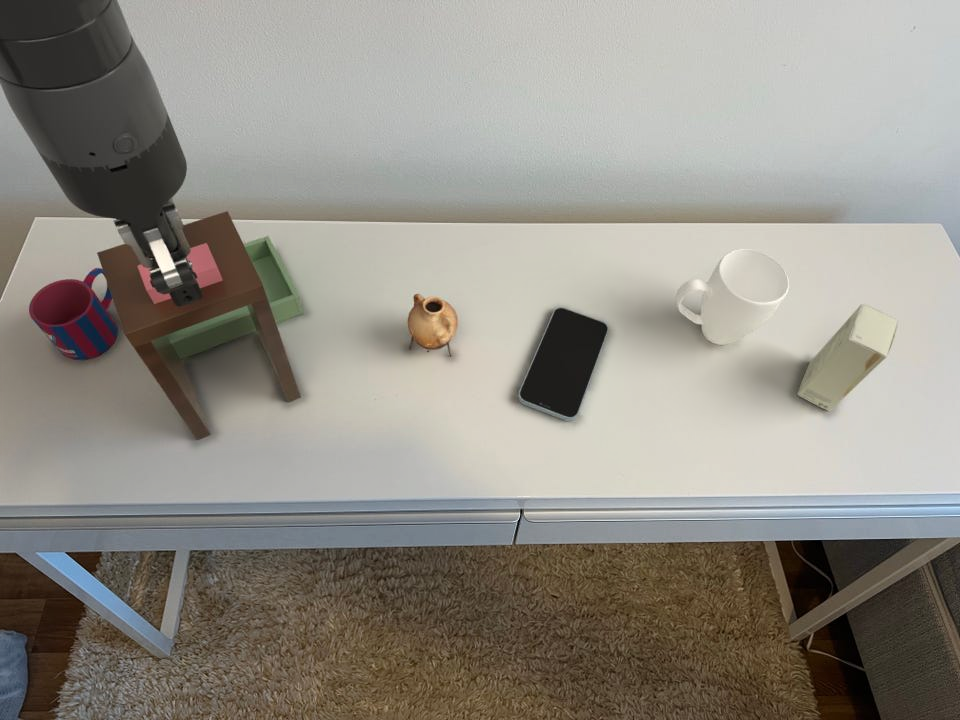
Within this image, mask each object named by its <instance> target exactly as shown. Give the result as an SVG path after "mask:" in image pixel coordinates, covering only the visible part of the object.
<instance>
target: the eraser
mask: <svg viewBox="0 0 960 720" xmlns="http://www.w3.org/2000/svg"><path fill="white" fill-rule="evenodd" d="M190 249H191V252H190V254H189V255H188V256H187V259H188V261H190V260H191V263H192V265H193V267H192V269H193V272H195V273H196V275H197V277H198V278H196V280H197V282H198V284H199V287H200V288H203V287H205V286H208V285H211V284H214V283H217V282H220V281H222V277H221V275H220V272H219V270H218V268H217V265H216V263H215V261H214V259H213V256H212V254H211V252H210V250H209V247H208V245H207V243H204V244H201V245H198V246H195V247H192V248H190ZM137 267H138V270H139V272H140V275H141V278H142V280H143V283H144V286H145V288H146V291H147V293H148V294H149V296H150V298H151V299H152V301H153V303H154V304H157V303H160V302H162V301H165V300H168V299H171V296H170V294H169V293H168V294H165V295H164V294H161V293H159V292H157V291H156V289H155V287H154V288H153V287H152V285H151V283H150V280H151V278H150V275H151V274H150V272H149V269H151V268H145V267H143V266H142V264H141V265H138V266H137Z"/></svg>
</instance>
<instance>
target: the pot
mask: <svg viewBox="0 0 960 720" xmlns="http://www.w3.org/2000/svg"><path fill="white" fill-rule="evenodd" d="M412 298H413V307H412V308H411V309H410V311H409V312H408V316H407V328H408V331H409V333H410V336H411V338H410V342H409V345H408V350H411V349H412V346H413V343H414V341H415V343H416V344H417V345H419V346H420V347H421V348H423V349H427V351H426V352H427V353H430V351H431V350H432V351H435V350H440V349H443V348H444V347H446V346H447V351H448V354H449V357H450V358H451V357H453V354H452V353H453V352H452V350H451V345H450V342H451V340H452V339H453V338H454V336H455V335H456V333H457V330H458V324H459V320H458V319H459V318H458V315H457V314H458V313H457V312H456V310H455V308H454V307H453V306H452V305H451V304H450V303H449V302H447V301H446V300H443V299H441V298H440V297H438V296H429V297H426V298H425V297H424V296H423V295H422V294H420V293H415V294H414V295H413V297H412Z"/></svg>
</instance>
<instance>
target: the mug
mask: <svg viewBox="0 0 960 720" xmlns="http://www.w3.org/2000/svg"><path fill="white" fill-rule="evenodd" d="M712 271H713V272H712V273H711V274H710V276H709V279H708V281H707V282H706V281H704V280H702V279H698V278H694V279H690V280H688V281H686V282H684V283H682V284H681V285H680V286H679V288H678V289H677V290H676V293H675V296H674V302H675V306H676V308H677V310H678V311H679V312H680V313H681V315H683V316H684V317H685V318H686V319H688V320H690V321H691V322H693V324H695V325H701V332H702V334H703V336H704V337H705V339H706V340H707V341H709V342H710V343H713V344H715V345H719V346H726V345H729V344H731V343H733V342H736V341H737V340H740V339H742V338H744V337H746V336H748V335H750V334H752V333H754V332H755V331H757V330H759V329H760V328H762V326H764V325H765V324H766V323H767V322H768V320H769V319H771V317H772V316H773V315H774V313H775V312H776V310H777V309H778V308H779V307H780V305H781V304H782V302H783V301H784V299H785V298H786V296H787V294H788V291H789V289H790V280H789V277H788V274H787V272H786V270H785V268H784V267H783V266H782V264H780V263H779V261H778V260H776V259H775V258H774V257H772V256H770V255H769V254H766V253H765V252H762V251H759V250H756V249H752V248H740V249H735V250H731V251H729V252H727V253H726V254H725V255H724V256H722V257H721V259H720V260H719V261H718V263H717V264H716V266H715V268H714V269H713V270H712ZM695 291H702V296H701V305H700V314H697V313H695V312H693V311H691V310H690V309H689V308H687V307H686V306H685V305H683V303H682V301H683V299H684V298H685V297H686V296H688V295H689V294H690V293H692V292H695Z"/></svg>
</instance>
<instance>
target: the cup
mask: <svg viewBox="0 0 960 720" xmlns="http://www.w3.org/2000/svg"><path fill="white" fill-rule="evenodd" d="M101 274H102V275H103V276H104V277H105V275H104V272H103V269H102V267H95V268H93V269H91V270H90V271H89V273H88V274H86V275H85V278H84V279H83V280H80V279H75V278H66V279H65V278H64V279H60V280H56V281H53V282H50V283H49V284H47V285H45V286H43V287H42V288H40V289H39V290H38V291H37V292H36V293H35V294H34V296H32V299H30V300H31V301H30V303H29V305H28V306H29V307H28V313H29V316H30V318H31V320H32V321H33V322H34V324H35V325H36V326H37V327H38V328H39V329H40V331H42V333H43V334H44V335H45V336H46V337H47V338H48V340H49V341H50V342H51V343H52V344H53V345H54V346H55V348H56V349H57V350H58V351H59V352H60V353H61V354H62V355H63V356H64V357H66V358H68V359H72V360H74V361H75V360H78V361H84V360H90V359H93V358H96V357H98V356H101V355H102V354H105V352H107V351H108V350H109V349H110V348H111V347H112V346H113V344H114V343H115V342H116V339H117V338H118V337H117V336H118V325H117V323H116V321H115V320H114V318H113V317H112V315H111V314H110V313H109V311H108V309H109V308H110V306H111V303H112V302H113V299H112V296H111V293H110V290H109V287H108V284H107V283H106V291H105V294H104V296H103V299H102V300H100V298H99V297H98V296H97V293H96V292H95V291H94V290H93V288H92V287H93V284H94V282H95V279H96V278H97V277H98V276H99V275H101Z"/></svg>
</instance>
